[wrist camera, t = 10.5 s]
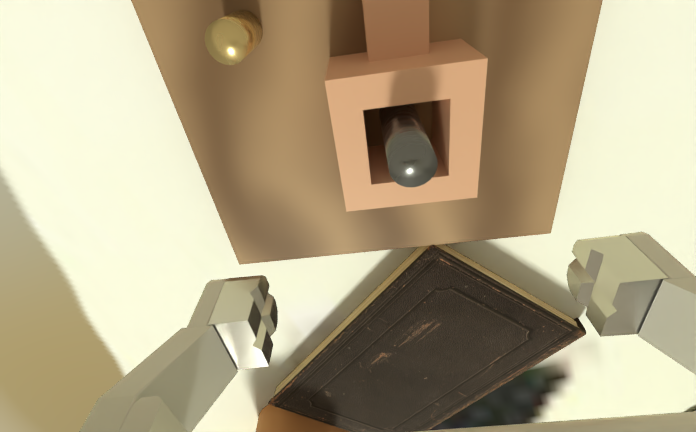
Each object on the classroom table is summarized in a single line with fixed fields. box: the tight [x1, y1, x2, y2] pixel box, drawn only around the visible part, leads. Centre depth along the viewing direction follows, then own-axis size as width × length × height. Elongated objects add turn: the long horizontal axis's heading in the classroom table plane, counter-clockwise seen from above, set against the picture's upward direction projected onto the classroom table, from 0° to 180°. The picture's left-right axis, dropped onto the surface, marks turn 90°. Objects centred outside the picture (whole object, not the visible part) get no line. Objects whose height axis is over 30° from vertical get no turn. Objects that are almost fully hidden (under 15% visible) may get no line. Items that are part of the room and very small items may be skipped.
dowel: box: [205, 10, 263, 65], centre depth 15 cm, size 2×2×3 cm
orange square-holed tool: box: [325, 0, 488, 212], centre depth 15 cm, size 6×13×4 cm, turn 8°
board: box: [131, 0, 602, 264], centre depth 19 cm, size 20×20×2 cm
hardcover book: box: [269, 244, 586, 432], centre depth 32 cm, size 16×23×2 cm
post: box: [379, 103, 438, 187], centre depth 16 cm, size 2×2×6 cm
